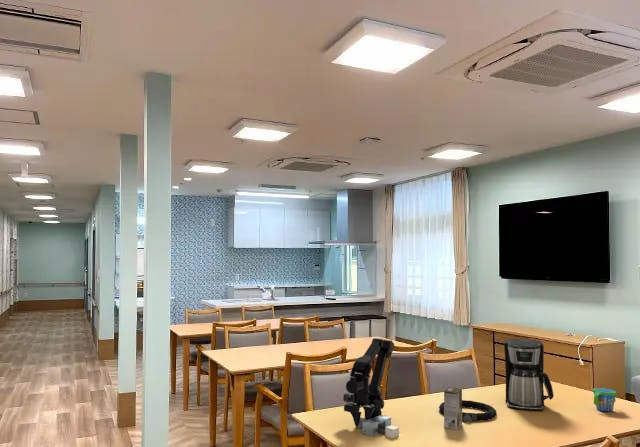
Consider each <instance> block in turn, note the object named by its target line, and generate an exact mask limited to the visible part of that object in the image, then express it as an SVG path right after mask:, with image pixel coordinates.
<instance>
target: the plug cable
mask: <svg viewBox="0 0 640 447" xmlns="http://www.w3.org/2000/svg"><path fill="white" fill-rule="evenodd" d="M365 420H366V419H365V417H361V416H360V421H359V425H358V427H357V428H359V429H362V425H363V421H365ZM399 429H400V427H398V426H395V425H392V424H391V426H388V427H386V430H385V429H382V428H378V434H380V435H381V434H382V435H385V437H388V438H392V439H395V438H398V437H399V436H400V434H401V432H400V430H399Z"/></svg>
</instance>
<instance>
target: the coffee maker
mask: <svg viewBox="0 0 640 447" xmlns="http://www.w3.org/2000/svg"><path fill="white" fill-rule="evenodd" d="M503 346H504V347H503V349H504V361H505V363H504V364H505V365H504V366H505V401H504V403H505V402H506V403H507V404H506V403H505V404H506V406H507V407H508V408H510V409H515V410H516V409H517V410H525V411H540V410H541V411H544V409H545V408H544V407H545V400H547V399H549V401H551V400H552V399H553V398H554V390H553V389H554V388H553V385H552V382H551V379H550V377H549V375H548V374H547V373H545V372H544V366H545V365H544V364H545V359H544V357H545V346H544V343H543V342H542V341H540V340H538V339H531V338H507V339H505V340H504V341H503ZM544 387H545V388H544ZM544 390H545V391H546V394H547V395H546V394H545V393H544Z"/></svg>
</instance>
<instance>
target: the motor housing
mask: <svg viewBox="0 0 640 447" xmlns="http://www.w3.org/2000/svg"><path fill="white" fill-rule="evenodd" d="M391 425H392V417H391V416H387V415H384V414H382V415H380V416H377V417H374V418H371V419H368V420H365V421H363V425H362V428H361V429H362V435H366V436H368V437H374V436H377V435H378V434H379V433H378V428H382V429H385V430H386V427H388V426H391Z"/></svg>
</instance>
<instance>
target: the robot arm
mask: <svg viewBox="0 0 640 447" xmlns="http://www.w3.org/2000/svg"><path fill="white" fill-rule="evenodd" d="M394 350H395V343H394V342H393V340H391V339H383V338H377V337H375V338H372V340H371V343H370V345H369V346H368V348H367V350H366V351H365V352H364V354H363V355H361V356H360V357H358V358H357V359H356V360H354V363H353V366H352V368H351V371H350V374H349V376H350V378H349V380H348V381H346V384H345V389H346V391H347V392H348V393H345V394H343V398H342V399H343V402H345V404H344V406H343V411H344V412H347V413H349V414H350V415H351V416H352V419H353V422H354V426H355V427H356V428H358V425H359V421H360V417H361V416H362V411H361V408H363V410H364V418H365V419H366V420H368V419H371V418H374V417H377V416H380V415H383V413H382V409H384V407H385V401H384V399H383V397H382V396H383V393H382V390H381V385H382V381H383V377H384V373H385V368H386V364H387V360H388V358H390V357H391V355H393V351H394ZM374 360H375V364H374V368H373V364H372V363H373V362H374ZM372 370H373V372H372ZM371 372H372V376H371V375H370V374H371ZM370 378H371V380H369V379H370Z"/></svg>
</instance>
